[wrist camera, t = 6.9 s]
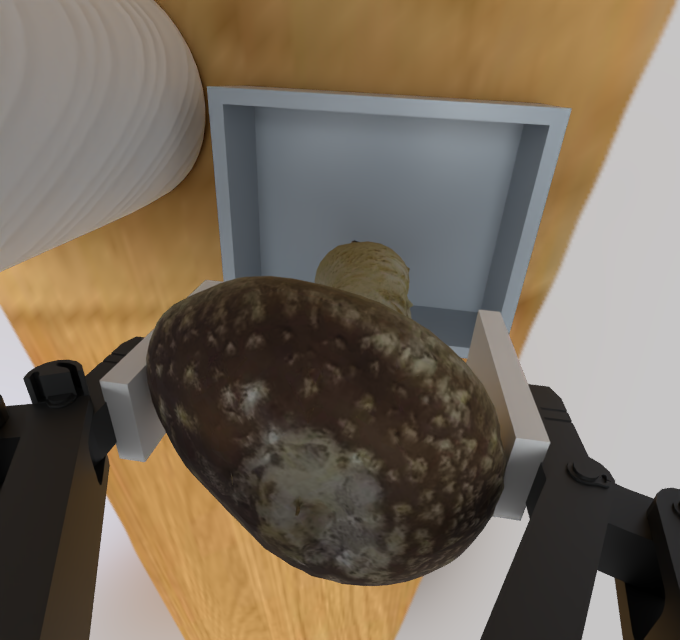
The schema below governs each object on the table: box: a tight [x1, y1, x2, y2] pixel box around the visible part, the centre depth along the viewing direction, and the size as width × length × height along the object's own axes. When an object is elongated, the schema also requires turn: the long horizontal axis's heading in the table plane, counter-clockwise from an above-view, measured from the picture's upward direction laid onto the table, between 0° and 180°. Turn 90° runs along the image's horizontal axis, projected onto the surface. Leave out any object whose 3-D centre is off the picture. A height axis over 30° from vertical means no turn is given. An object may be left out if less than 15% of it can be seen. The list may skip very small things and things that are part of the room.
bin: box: [207, 86, 571, 358], centre depth 28 cm, size 15×19×6 cm
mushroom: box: [146, 240, 506, 586], centre depth 16 cm, size 9×9×15 cm
